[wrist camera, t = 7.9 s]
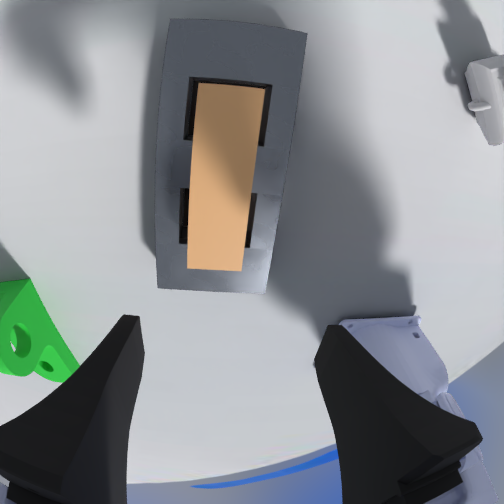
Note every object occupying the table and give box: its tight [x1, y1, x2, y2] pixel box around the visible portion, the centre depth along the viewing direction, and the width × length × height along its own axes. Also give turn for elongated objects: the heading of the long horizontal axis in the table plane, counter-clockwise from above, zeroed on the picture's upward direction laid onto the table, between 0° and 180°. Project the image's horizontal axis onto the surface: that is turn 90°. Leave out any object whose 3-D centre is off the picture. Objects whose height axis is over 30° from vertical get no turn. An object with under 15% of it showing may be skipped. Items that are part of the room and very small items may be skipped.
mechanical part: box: [0, 279, 80, 382], centre depth 19 cm, size 12×6×8 cm, turn 5°
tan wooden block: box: [187, 83, 265, 271], centre depth 15 cm, size 3×9×5 cm, turn 173°
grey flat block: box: [155, 19, 307, 294], centre depth 16 cm, size 7×16×2 cm, turn 173°
